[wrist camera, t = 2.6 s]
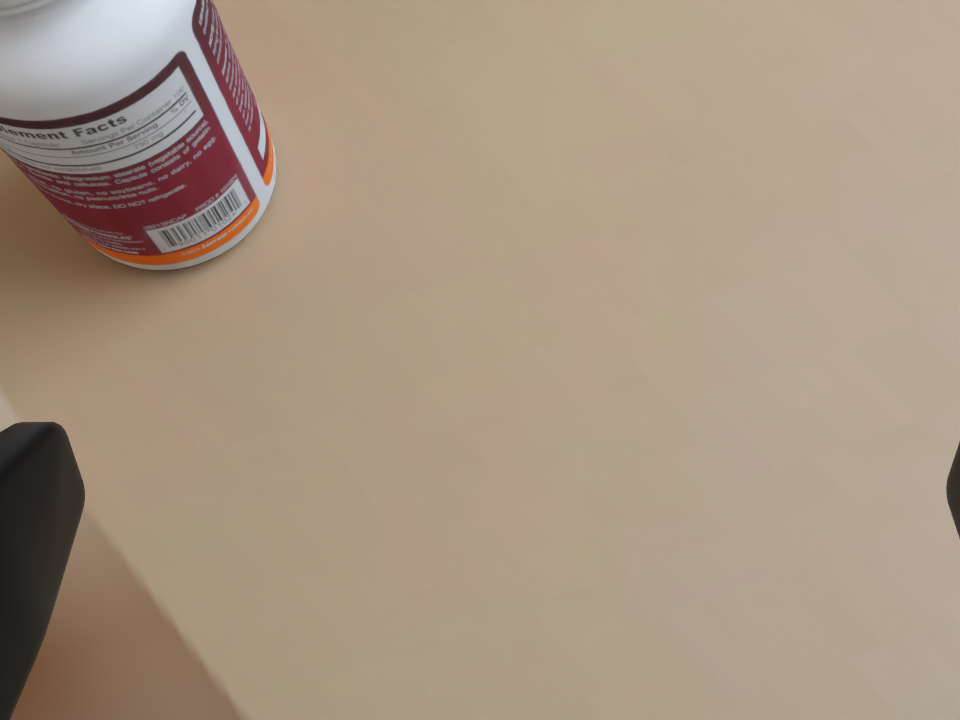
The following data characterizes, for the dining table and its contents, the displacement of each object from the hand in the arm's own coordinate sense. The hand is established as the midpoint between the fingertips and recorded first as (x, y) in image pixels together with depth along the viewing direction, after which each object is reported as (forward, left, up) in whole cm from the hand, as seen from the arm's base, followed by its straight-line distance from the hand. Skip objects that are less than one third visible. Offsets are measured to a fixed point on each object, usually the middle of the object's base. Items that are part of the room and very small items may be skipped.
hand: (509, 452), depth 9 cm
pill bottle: (-1, +16, -14) cm, 21 cm away
